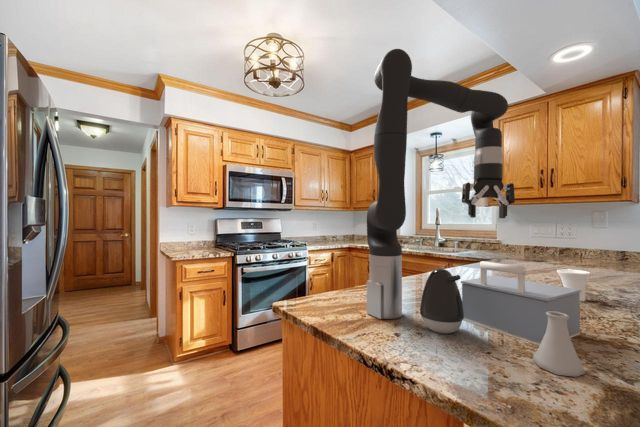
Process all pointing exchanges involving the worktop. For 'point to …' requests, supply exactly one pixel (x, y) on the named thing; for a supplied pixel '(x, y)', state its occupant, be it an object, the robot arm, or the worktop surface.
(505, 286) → the lid flap
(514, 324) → the carton
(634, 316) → the worktop surface
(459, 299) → the pump dispenser
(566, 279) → the cup
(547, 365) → the flask
